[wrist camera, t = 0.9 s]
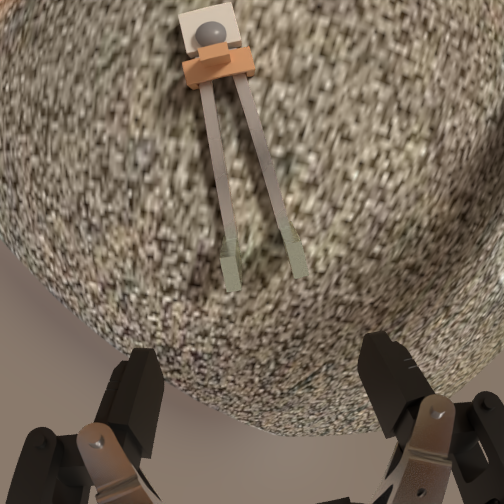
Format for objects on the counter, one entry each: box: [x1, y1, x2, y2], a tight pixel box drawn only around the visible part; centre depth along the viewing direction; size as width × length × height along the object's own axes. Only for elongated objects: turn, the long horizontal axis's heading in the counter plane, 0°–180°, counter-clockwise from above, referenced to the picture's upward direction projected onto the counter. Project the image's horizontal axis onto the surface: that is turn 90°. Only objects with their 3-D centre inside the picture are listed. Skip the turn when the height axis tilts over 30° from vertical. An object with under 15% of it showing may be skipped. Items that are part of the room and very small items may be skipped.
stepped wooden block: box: [182, 42, 255, 90], centre depth 19 cm, size 2×5×5 cm, turn 102°
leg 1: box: [195, 57, 242, 292], centre depth 22 cm, size 19×1×5 cm, turn 8°
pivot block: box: [178, 2, 242, 58], centre depth 18 cm, size 4×4×2 cm
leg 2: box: [229, 48, 309, 279], centre depth 22 cm, size 19×1×5 cm, turn 16°
